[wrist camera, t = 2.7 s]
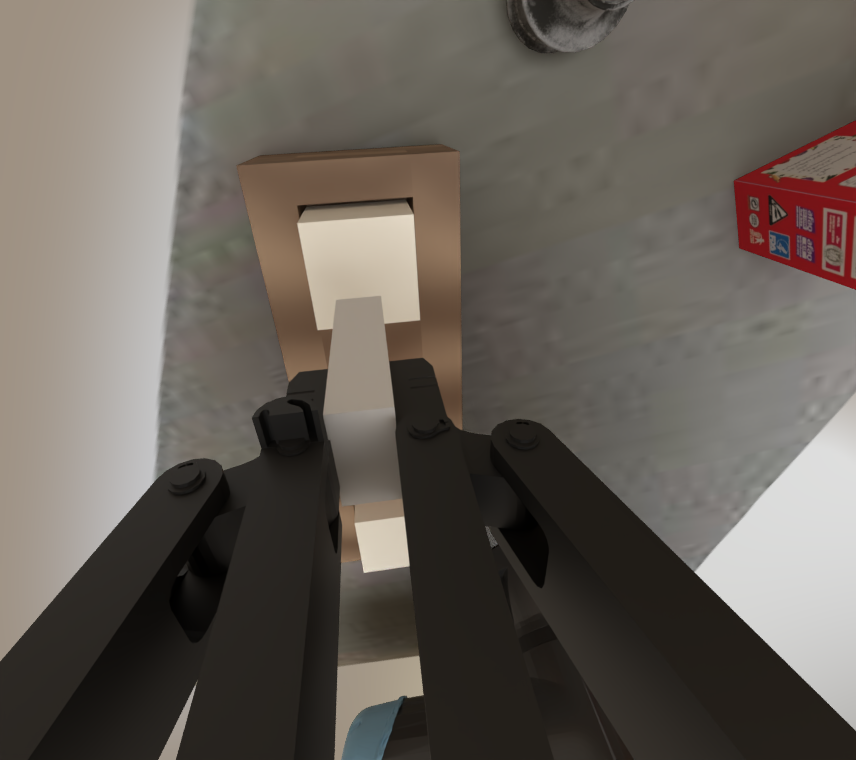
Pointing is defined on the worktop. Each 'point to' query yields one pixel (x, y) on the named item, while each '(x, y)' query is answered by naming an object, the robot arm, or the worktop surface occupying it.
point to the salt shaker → (564, 22)
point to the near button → (361, 257)
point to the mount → (435, 254)
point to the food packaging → (804, 208)
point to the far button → (381, 535)
